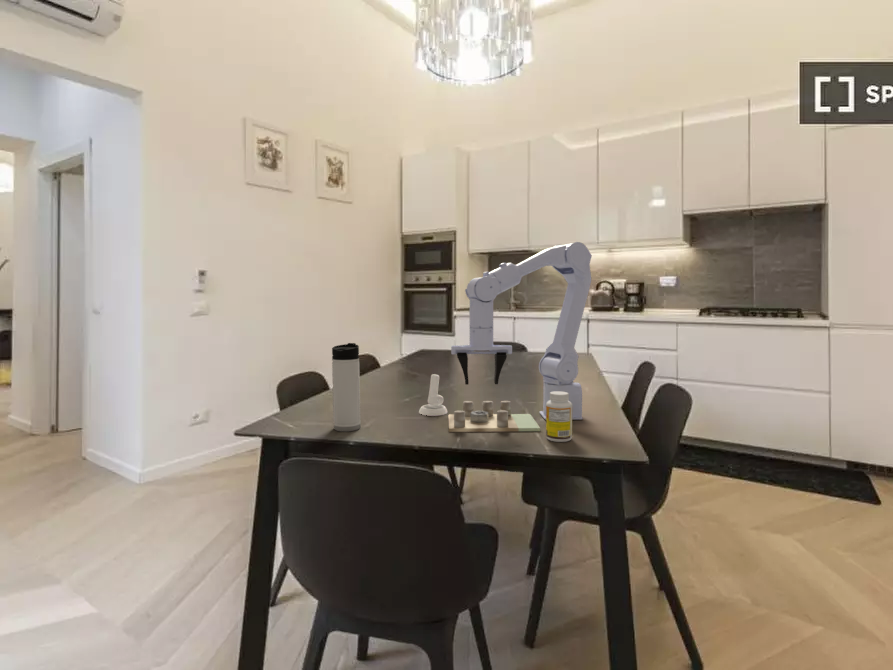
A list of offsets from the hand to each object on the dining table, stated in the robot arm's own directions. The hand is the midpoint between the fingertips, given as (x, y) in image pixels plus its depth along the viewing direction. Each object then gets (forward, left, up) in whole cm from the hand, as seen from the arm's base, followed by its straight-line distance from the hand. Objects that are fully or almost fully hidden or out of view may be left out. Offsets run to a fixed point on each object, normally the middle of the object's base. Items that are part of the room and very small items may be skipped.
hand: (481, 383), depth 128 cm
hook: (+12, -13, -10) cm, 20 cm away
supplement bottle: (-16, +14, -10) cm, 23 cm away
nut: (+1, 0, -9) cm, 9 cm away
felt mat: (-10, 0, -10) cm, 14 cm away
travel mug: (+32, +3, -10) cm, 34 cm away
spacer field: (0, 0, -10) cm, 10 cm away
